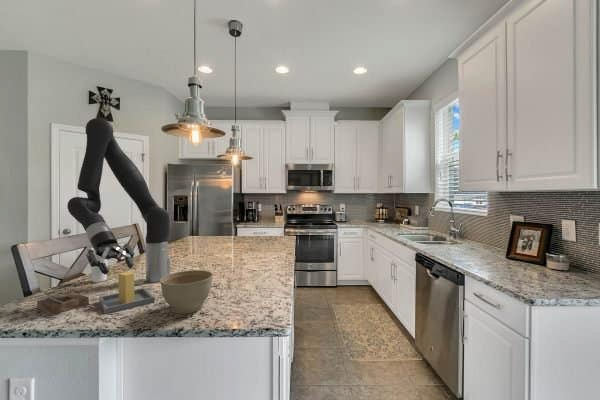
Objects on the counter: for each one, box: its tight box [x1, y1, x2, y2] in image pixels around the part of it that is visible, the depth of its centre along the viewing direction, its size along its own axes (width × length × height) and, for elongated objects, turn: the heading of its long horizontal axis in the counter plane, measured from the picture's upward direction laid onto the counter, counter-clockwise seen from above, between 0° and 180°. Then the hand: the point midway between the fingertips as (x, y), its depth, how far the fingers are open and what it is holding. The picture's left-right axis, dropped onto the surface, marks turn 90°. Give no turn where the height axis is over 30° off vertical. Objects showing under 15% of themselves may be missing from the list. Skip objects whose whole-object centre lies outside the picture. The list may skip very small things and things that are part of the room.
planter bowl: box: [159, 269, 213, 315], centre depth 92 cm, size 16×16×11 cm
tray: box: [98, 287, 156, 315], centre depth 98 cm, size 15×15×2 cm
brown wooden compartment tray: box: [36, 291, 90, 316], centre depth 95 cm, size 10×12×3 cm
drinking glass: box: [90, 247, 109, 283], centre depth 125 cm, size 7×7×15 cm
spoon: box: [114, 278, 146, 294], centre depth 113 cm, size 4×21×2 cm, turn 175°
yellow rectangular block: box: [117, 271, 135, 303], centre depth 98 cm, size 3×4×10 cm, turn 61°
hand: (119, 269), depth 99 cm, fingers open, 8 cm apart
